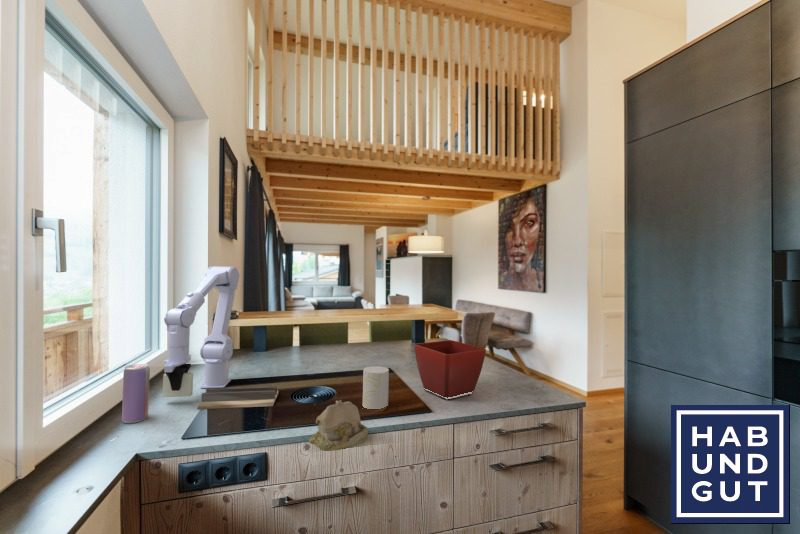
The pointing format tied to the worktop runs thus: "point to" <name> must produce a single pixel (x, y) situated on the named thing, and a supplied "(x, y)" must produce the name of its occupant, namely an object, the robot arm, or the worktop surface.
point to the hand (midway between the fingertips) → (177, 389)
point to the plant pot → (449, 366)
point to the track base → (238, 397)
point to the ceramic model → (339, 427)
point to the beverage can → (135, 393)
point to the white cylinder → (375, 387)
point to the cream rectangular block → (184, 390)
